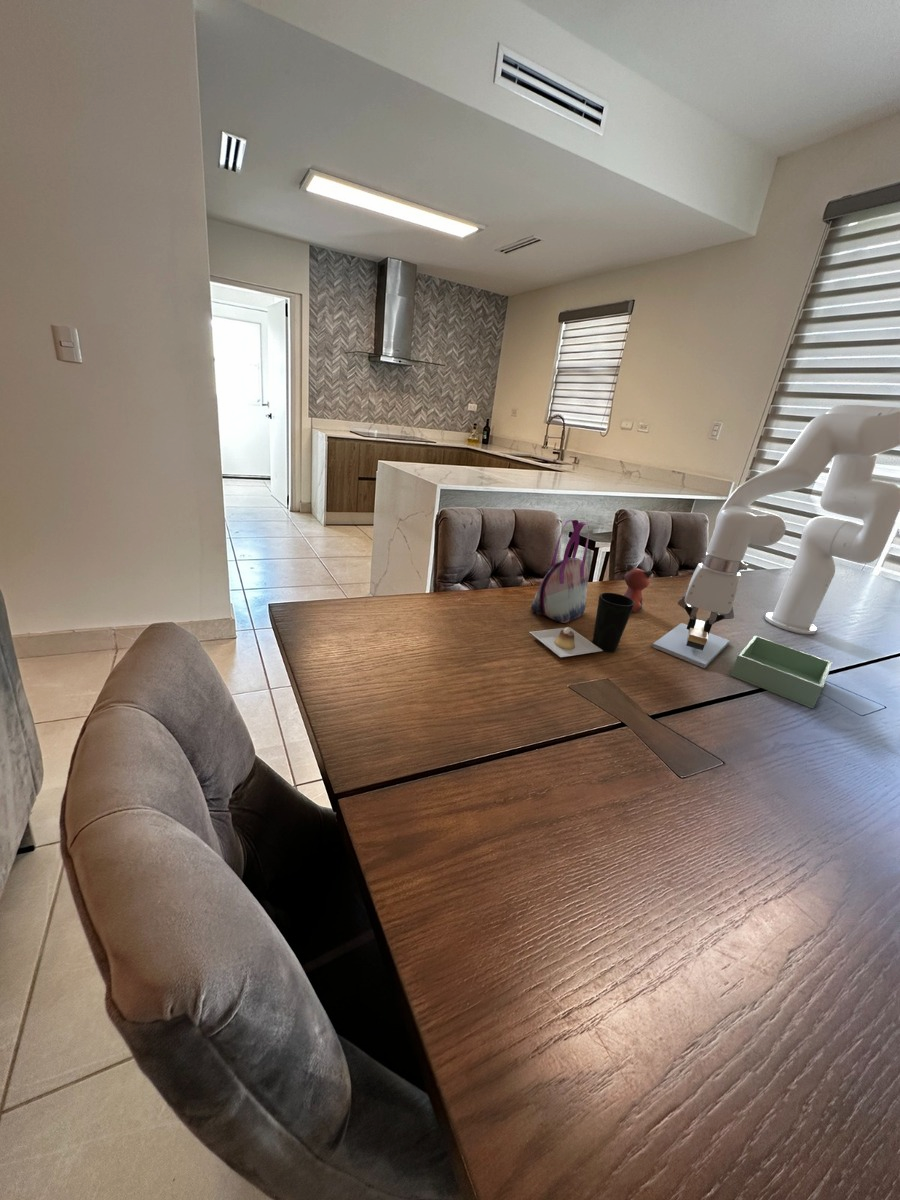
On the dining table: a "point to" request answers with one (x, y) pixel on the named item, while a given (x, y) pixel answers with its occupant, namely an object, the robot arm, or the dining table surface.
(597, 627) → the cup
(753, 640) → the basket
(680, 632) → the mat
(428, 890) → the dining table surface
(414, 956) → the dining table surface
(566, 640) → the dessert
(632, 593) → the stuffed fox
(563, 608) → the handbag
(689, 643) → the brush
